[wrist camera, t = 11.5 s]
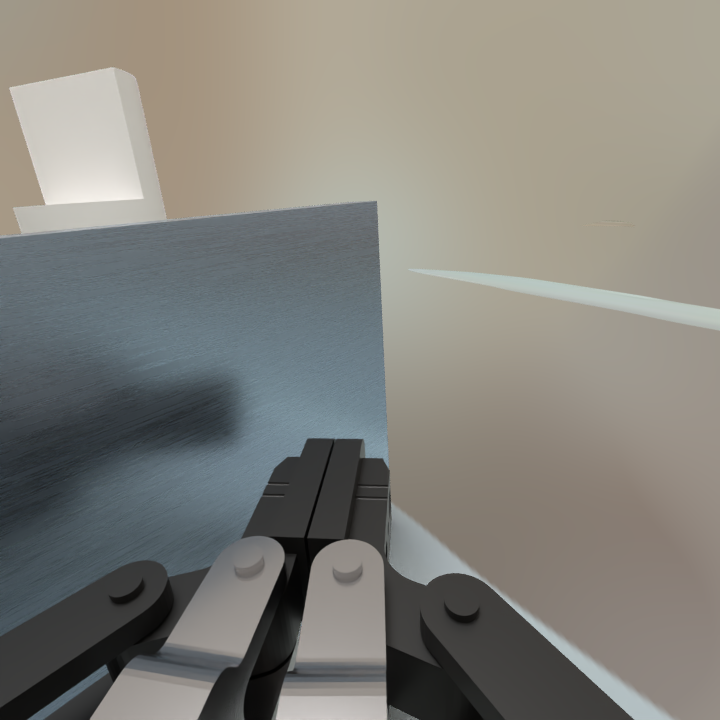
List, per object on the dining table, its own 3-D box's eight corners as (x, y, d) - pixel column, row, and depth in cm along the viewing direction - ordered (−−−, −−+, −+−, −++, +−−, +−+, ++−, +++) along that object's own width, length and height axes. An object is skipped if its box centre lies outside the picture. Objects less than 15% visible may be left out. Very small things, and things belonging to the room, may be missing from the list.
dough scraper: (-188, 982, 8) (-1048, 345, 3) (-172, 850, 9) (-730, 303, 5) (401, 507, 18) (390, 200, 14) (360, 484, 20) (339, 202, 15)
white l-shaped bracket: (121, 289, 73) (70, 98, 63) (207, 290, 67) (166, 81, 57) (18, 319, 58) (-72, 73, 47) (118, 323, 52) (40, 47, 42)
